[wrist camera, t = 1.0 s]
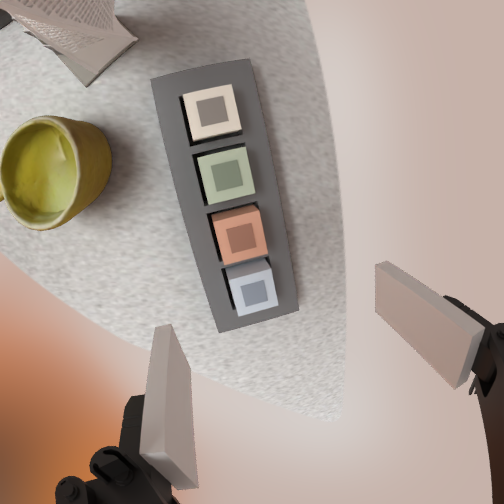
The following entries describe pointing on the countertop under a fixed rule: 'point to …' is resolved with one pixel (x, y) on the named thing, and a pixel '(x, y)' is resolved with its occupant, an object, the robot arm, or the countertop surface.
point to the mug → (53, 170)
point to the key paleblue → (252, 286)
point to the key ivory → (212, 112)
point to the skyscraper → (75, 32)
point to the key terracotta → (240, 234)
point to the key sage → (226, 175)
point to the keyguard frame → (264, 198)
